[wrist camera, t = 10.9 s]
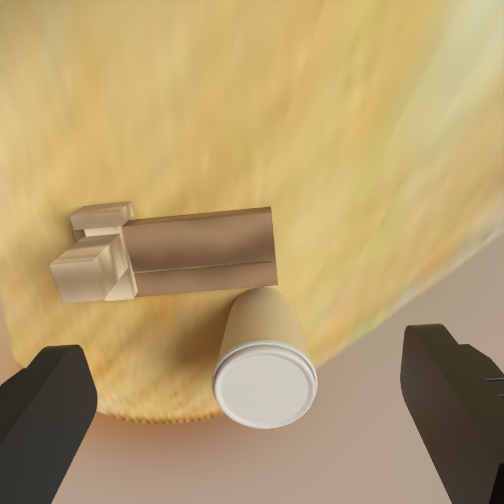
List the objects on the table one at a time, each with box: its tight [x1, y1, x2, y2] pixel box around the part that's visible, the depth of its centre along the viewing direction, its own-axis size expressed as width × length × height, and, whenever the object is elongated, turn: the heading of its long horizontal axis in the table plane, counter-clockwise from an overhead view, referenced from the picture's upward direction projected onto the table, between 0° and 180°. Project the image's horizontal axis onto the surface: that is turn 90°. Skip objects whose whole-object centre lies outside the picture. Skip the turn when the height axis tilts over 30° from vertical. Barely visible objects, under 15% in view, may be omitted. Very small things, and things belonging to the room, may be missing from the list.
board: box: [73, 207, 278, 300], centre depth 39 cm, size 8×20×2 cm, turn 96°
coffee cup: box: [212, 287, 317, 429], centre depth 38 cm, size 9×9×12 cm
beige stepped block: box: [49, 202, 138, 304], centre depth 35 cm, size 9×5×10 cm, turn 6°
